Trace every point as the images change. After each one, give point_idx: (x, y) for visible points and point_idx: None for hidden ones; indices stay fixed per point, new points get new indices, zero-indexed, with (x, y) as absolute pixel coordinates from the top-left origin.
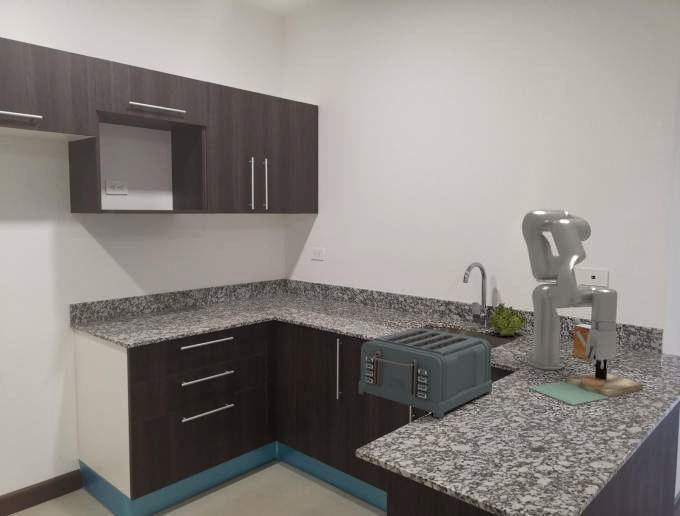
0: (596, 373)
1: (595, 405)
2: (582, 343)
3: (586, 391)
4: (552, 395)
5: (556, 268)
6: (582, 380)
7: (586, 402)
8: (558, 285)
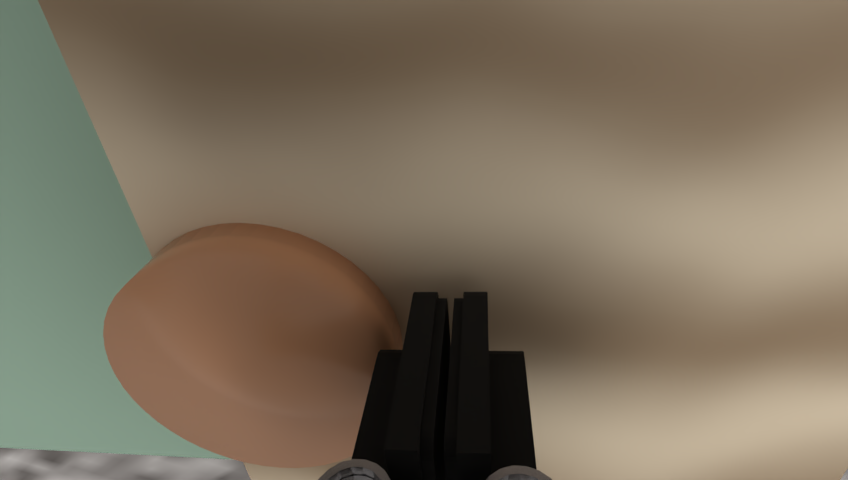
0: (372, 389)
1: (94, 476)
2: None
3: None
4: None
5: None
6: (112, 328)
7: (45, 445)
8: None
